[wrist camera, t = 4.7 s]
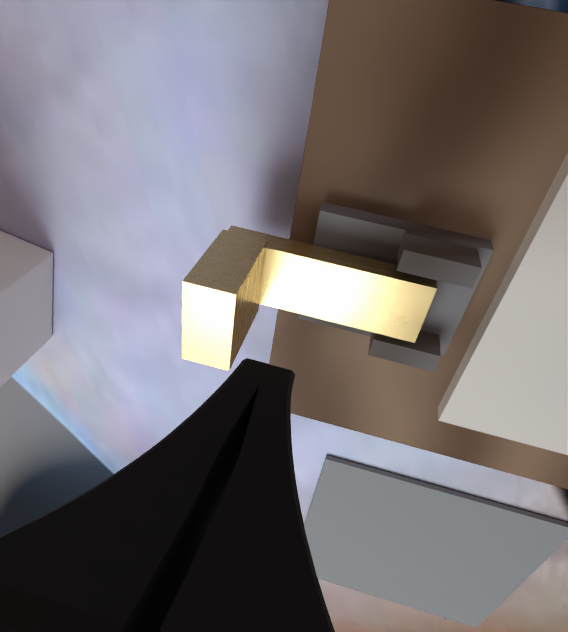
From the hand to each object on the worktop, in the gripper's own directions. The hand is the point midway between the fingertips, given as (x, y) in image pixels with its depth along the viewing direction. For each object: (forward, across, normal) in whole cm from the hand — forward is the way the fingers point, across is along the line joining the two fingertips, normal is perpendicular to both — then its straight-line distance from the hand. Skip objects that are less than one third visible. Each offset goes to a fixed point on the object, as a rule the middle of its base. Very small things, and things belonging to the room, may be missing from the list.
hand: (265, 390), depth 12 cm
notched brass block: (+6, -1, 0) cm, 6 cm away
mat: (+9, -10, +20) cm, 24 cm away
